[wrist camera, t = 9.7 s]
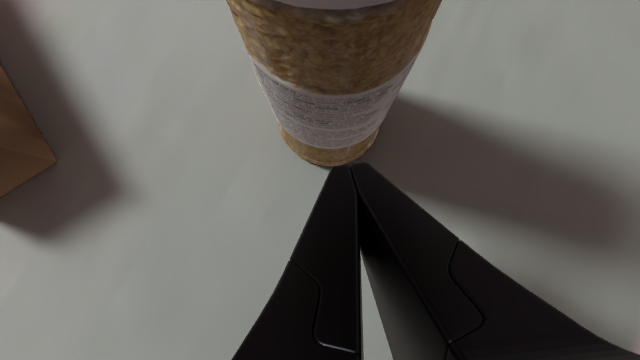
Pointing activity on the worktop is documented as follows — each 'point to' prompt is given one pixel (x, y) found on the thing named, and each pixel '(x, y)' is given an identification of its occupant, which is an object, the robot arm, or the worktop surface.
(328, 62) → the sprinkles bottle
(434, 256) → the robot arm
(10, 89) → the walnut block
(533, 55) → the worktop surface
